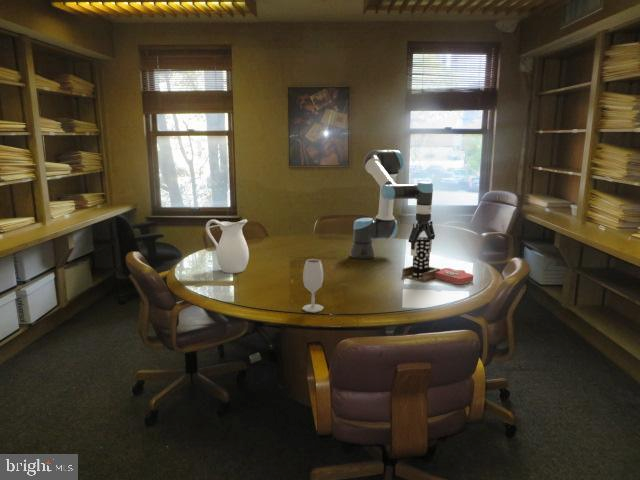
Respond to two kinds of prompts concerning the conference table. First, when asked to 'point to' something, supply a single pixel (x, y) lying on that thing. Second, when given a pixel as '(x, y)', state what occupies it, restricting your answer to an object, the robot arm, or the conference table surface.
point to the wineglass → (313, 282)
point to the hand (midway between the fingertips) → (421, 253)
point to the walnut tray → (425, 276)
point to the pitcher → (231, 246)
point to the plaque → (454, 276)
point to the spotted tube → (421, 257)
